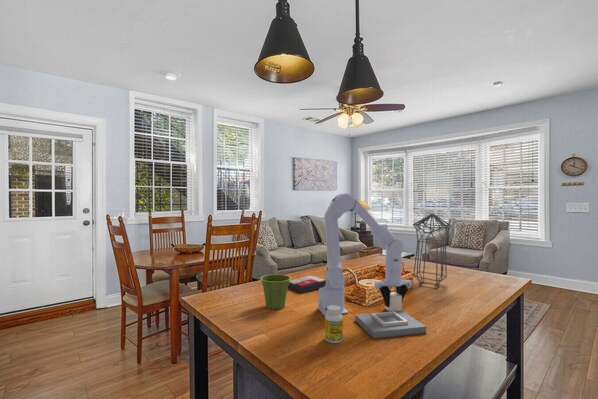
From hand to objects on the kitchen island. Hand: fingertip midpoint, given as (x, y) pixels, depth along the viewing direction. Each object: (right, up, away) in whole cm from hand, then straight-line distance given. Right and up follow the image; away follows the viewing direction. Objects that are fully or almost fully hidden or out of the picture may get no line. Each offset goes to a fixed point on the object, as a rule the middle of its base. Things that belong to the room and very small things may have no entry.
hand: (393, 305), depth 116 cm
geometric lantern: (+29, -2, +32) cm, 43 cm away
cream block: (0, -2, 0) cm, 2 cm away
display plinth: (-6, -2, -15) cm, 16 cm away
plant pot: (-45, -2, +3) cm, 45 cm away
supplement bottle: (-25, -2, -24) cm, 35 cm away
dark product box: (-32, -2, +28) cm, 43 cm away
